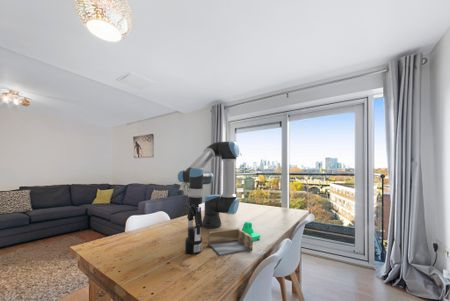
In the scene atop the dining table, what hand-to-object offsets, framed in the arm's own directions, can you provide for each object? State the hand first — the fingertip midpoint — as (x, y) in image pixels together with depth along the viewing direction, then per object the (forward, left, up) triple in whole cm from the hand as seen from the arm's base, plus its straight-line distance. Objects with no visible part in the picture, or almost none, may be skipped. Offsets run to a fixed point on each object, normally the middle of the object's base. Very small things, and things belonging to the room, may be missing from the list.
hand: (193, 236), depth 107 cm
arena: (+2, +21, -8) cm, 23 cm away
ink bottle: (0, 0, -8) cm, 8 cm away
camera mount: (-5, +39, -8) cm, 40 cm away
